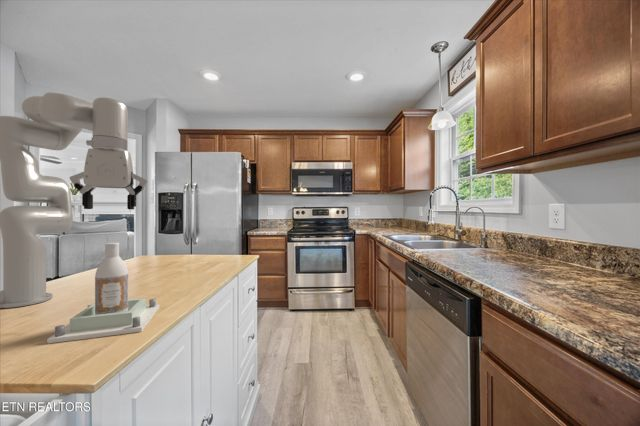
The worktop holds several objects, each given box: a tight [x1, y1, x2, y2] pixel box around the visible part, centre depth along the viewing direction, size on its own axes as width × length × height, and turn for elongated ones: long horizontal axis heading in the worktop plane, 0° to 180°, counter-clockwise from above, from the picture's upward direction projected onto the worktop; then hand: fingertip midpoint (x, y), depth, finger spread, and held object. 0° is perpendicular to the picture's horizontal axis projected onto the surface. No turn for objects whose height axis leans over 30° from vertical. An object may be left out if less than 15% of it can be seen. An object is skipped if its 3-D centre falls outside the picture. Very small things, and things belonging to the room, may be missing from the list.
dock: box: [46, 297, 160, 344], centre depth 71 cm, size 18×18×4 cm
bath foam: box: [94, 242, 129, 315], centre depth 71 cm, size 7×7×20 cm
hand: (110, 209), depth 73 cm, fingers open, 9 cm apart
